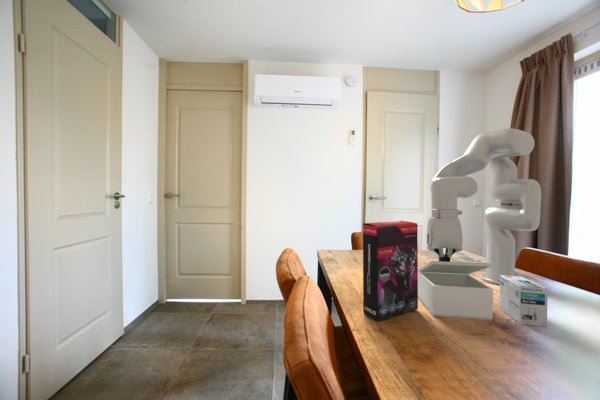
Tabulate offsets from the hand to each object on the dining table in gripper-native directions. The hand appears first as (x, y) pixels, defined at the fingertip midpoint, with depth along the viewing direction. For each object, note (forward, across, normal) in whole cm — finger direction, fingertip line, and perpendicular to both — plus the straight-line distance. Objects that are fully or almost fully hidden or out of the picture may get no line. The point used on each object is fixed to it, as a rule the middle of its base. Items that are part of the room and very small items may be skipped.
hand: (444, 267), depth 86 cm
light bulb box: (+12, -18, +8) cm, 23 cm away
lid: (-1, 0, +5) cm, 6 cm away
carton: (+11, 0, +6) cm, 13 cm away
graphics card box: (+10, +20, +13) cm, 26 cm away
